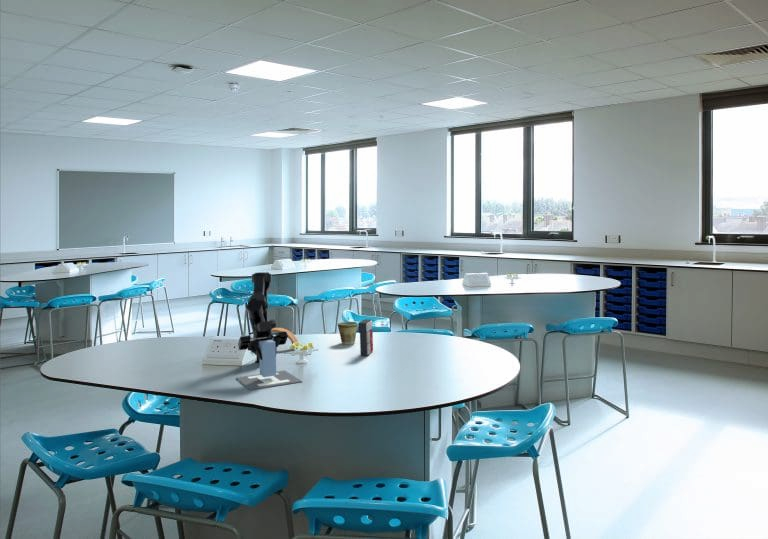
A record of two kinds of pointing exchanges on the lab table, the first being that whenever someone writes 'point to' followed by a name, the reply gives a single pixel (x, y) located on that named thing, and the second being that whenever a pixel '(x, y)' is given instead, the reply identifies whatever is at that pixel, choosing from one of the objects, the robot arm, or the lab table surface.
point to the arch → (290, 335)
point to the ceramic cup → (347, 332)
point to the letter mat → (268, 380)
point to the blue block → (267, 358)
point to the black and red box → (366, 337)
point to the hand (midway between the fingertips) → (268, 358)
